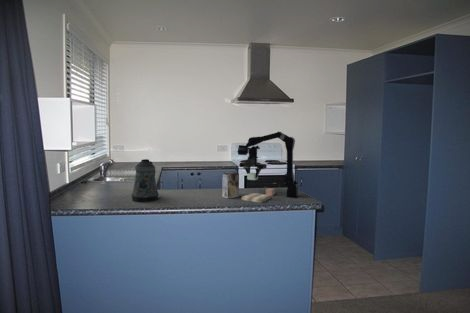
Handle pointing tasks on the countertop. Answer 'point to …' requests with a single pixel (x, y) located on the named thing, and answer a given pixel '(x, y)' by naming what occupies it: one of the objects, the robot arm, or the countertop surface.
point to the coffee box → (230, 185)
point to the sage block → (251, 176)
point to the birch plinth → (256, 197)
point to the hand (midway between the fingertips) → (252, 177)
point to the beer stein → (145, 182)
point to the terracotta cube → (270, 191)
